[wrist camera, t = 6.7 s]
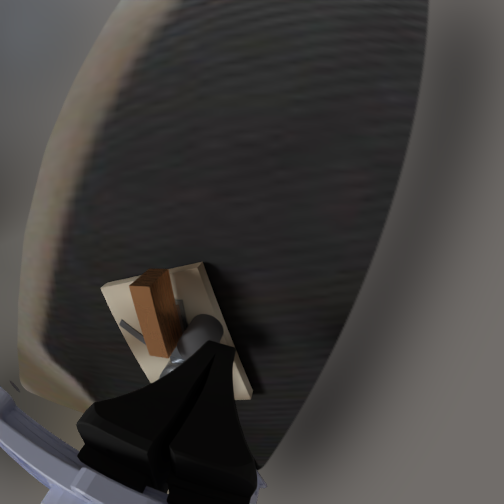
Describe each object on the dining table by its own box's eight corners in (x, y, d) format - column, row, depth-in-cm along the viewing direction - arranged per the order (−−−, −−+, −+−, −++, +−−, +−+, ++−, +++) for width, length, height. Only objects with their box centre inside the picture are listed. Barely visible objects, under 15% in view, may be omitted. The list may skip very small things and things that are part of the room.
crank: (218, 393, 22) (206, 423, 18) (174, 386, 22) (159, 414, 19) (193, 263, 18) (170, 287, 15) (139, 263, 19) (111, 284, 15)
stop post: (228, 340, 20) (218, 364, 17) (198, 343, 20) (185, 365, 18) (216, 311, 19) (204, 334, 17) (186, 316, 20) (171, 337, 17)
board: (253, 390, 22) (250, 400, 21) (165, 391, 25) (160, 399, 24) (202, 261, 19) (196, 268, 18) (107, 282, 21) (99, 288, 20)
